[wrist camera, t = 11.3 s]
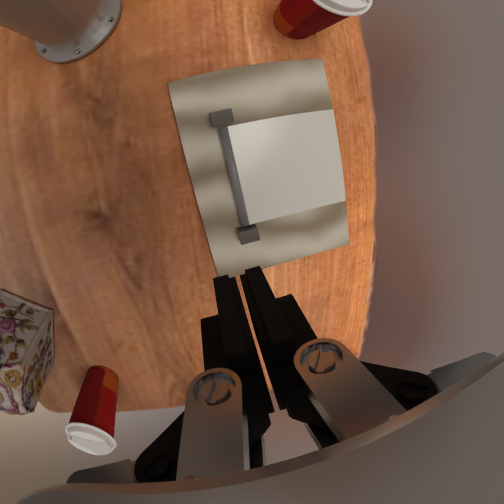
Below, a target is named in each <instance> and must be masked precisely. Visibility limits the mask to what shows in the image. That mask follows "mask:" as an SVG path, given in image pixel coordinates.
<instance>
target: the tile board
mask: <svg viewBox="0 0 504 504" xmlns="http://www.w3.org/2000/svg"><path fill="white" fill-rule="evenodd" d="M168 87H169V92H170V96H171V100H172V105H173V109H174V113H175V117H176V122H177V126H178V130H179V134H180V138H181V142H182V146H183V150H184V154H185V158H186V162H187V166H188V169H189V173H190V177H191V181H192V185H193V188H194V192H195V196H196V199H197V203H198V207H199V210H200V214H201V218H202V221H203V225H204V228H205V232H206V235H207V239H208V242H209V246H210V249H211V253H212V256H213V259H214V263H215V266H216V270H217V273H218V276H219V277H220V276H223V275H227V274H228V276H229V278H231V277H234V276H238V275H242V274H245V269H249V268H252V267H256V266H260V267H261V269H263V268H267V267H271V266H274V265H278V264H281V263H285V262H288V261H292V260H295V259H299V258H302V257H306V256H309V255H313V254H316V253H320V252H323V251H327V250H330V249H334V248H337V247H340V246H344V245H347V244H349V235H348V222H347V211H346V201H343V202H339V203H334V204H330V205H326V206H322V207H318V208H314V209H310V210H306V211H302V212H298V213H294V214H290V215H286V216H282V217H278V218H274V219H270V220H266V221H262V222H258V223H255V224H251V225H248V226H241V224H240V219H239V215H238V211H237V207H236V202H235V198H234V194H233V190H232V185H231V181H230V177H229V173H228V168H227V164H226V160H225V155H224V151H223V147H222V143H221V138H220V134H219V130H218V129H219V128H224V127H228V126H233V125H237V124H242V123H247V122H252V121H257V120H262V119H268V118H273V117H279V116H286V115H292V114H299V113H306V112H313V111H322V110H330V109H332V103H331V98H330V93H329V88H328V83H327V78H326V74H325V69H324V65H323V61H322V58H318V59H301V60H289V61H279V62H270V63H262V64H255V65H248V66H242V67H236V68H230V69H225V70H220V71H215V72H210V73H205V74H201V75H197V76H192V77H188V78H184V79H181V80H177V81H173V82H169V83H168Z"/></svg>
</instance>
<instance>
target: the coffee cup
mask: <svg viewBox="0 0 504 504" xmlns="http://www.w3.org/2000/svg"><path fill="white" fill-rule="evenodd" d="M117 391H118V377H117V375H116V374H115V373H114V372H113V371H112V370H110V369H108V368H106V367H103V366H93V367H91V368H90V369H89V370H88V372H87V374H86V377H85V379H84V382H83V384H82V387H81V390H80V392H79V395H78V398H77V401H76V404H75V406H74V409H73V412H72V415H71V418H70V421H69V424H67V425H66V427H65V431H66V433H67V439H68V441H69V442H70V443H71V444H72V445H74V446H75V447H77V448H78V449H80V450H82V451H84V452H87V453H90V454H94V455H106V454H109V453H110V452H112V451H113V449H114V448H115V447H116V445H117V444H116V442H115V440H114V427H115V414H116V402H117Z"/></svg>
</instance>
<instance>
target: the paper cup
mask: <svg viewBox="0 0 504 504" xmlns="http://www.w3.org/2000/svg"><path fill="white" fill-rule="evenodd" d="M371 5H372V0H282V1H281V2H280V4H279V6H278V8H277V10H276V12H275V14H274V24H275V26H276V28H277V29H278V30H279V31H280V32H281V33H282V34H283V35H285V36H287V37H289V38H292V39H304V38H307V37H309V36H311V35H313V34H315V33H317V32H319V31H321V30H323V29H325V28H327V27H329V26H331V25H333V24H335V23H337V22H339V21H341V20H343V19H345V18H347V17H349V16H357V15H361V14H363V13H365V12H366V11H367V10H368V9H369V8H370V7H371Z"/></svg>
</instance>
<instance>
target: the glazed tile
mask: <svg viewBox="0 0 504 504" xmlns="http://www.w3.org/2000/svg"><path fill="white" fill-rule="evenodd" d="M218 130H219V134H220V138H221V143H222V147H223V151H224V155H225V160H226V164H227V168H228V173H229V177H230V181H231V185H232V190H233V194H234V198H235V202H236V207H237V211H238V215H239V219H240V224H241V226H248V225H251V224H255V223H258V222H262V221H266V220H270V219H274V218H278V217H282V216H286V215H290V214H294V213H298V212H302V211H306V210H310V209H314V208H318V207H322V206H326V205H330V204H334V203H339V202H343V201H346V197H345V188H344V179H343V171H342V164H341V156H340V149H339V142H338V136H337V130H336V124H335V118H334V112H333V109H330V110H322V111H313V112H306V113H299V114H292V115H286V116H279V117H273V118H268V119H262V120H257V121H252V122H247V123H242V124H237V125H233V126H228V127H224V128H219V129H218Z"/></svg>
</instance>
